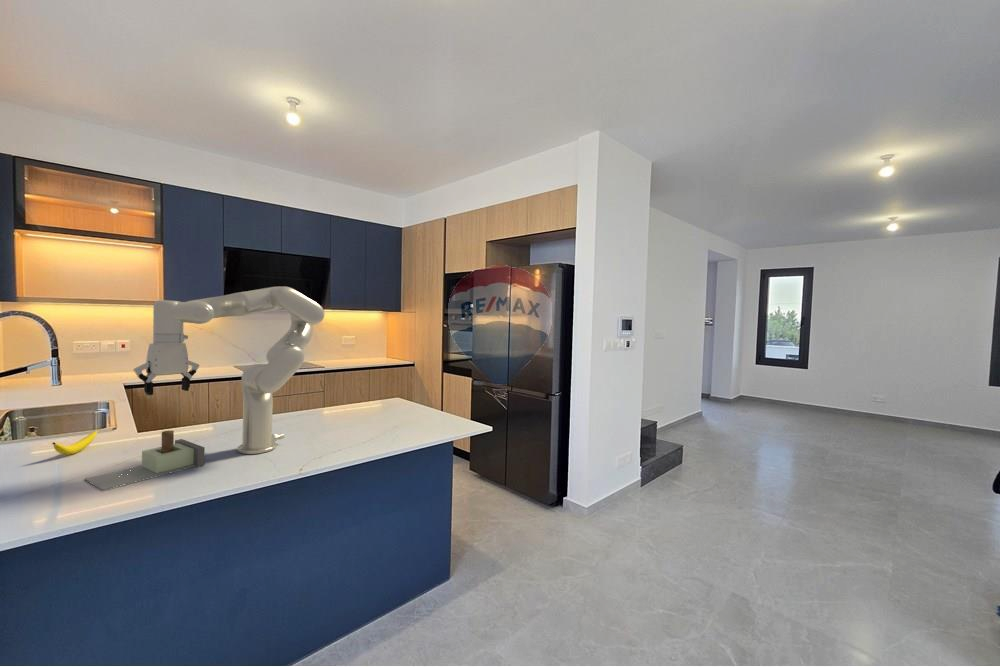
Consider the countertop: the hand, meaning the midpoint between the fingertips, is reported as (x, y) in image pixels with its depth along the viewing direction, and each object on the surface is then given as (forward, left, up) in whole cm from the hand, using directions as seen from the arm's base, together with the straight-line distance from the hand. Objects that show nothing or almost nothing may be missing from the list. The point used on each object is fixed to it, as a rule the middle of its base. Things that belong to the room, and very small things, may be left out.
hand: (167, 392), depth 133 cm
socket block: (0, 0, -24) cm, 24 cm away
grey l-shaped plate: (+5, 0, -24) cm, 25 cm away
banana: (+11, -38, -24) cm, 46 cm away
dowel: (0, 0, -23) cm, 23 cm away
